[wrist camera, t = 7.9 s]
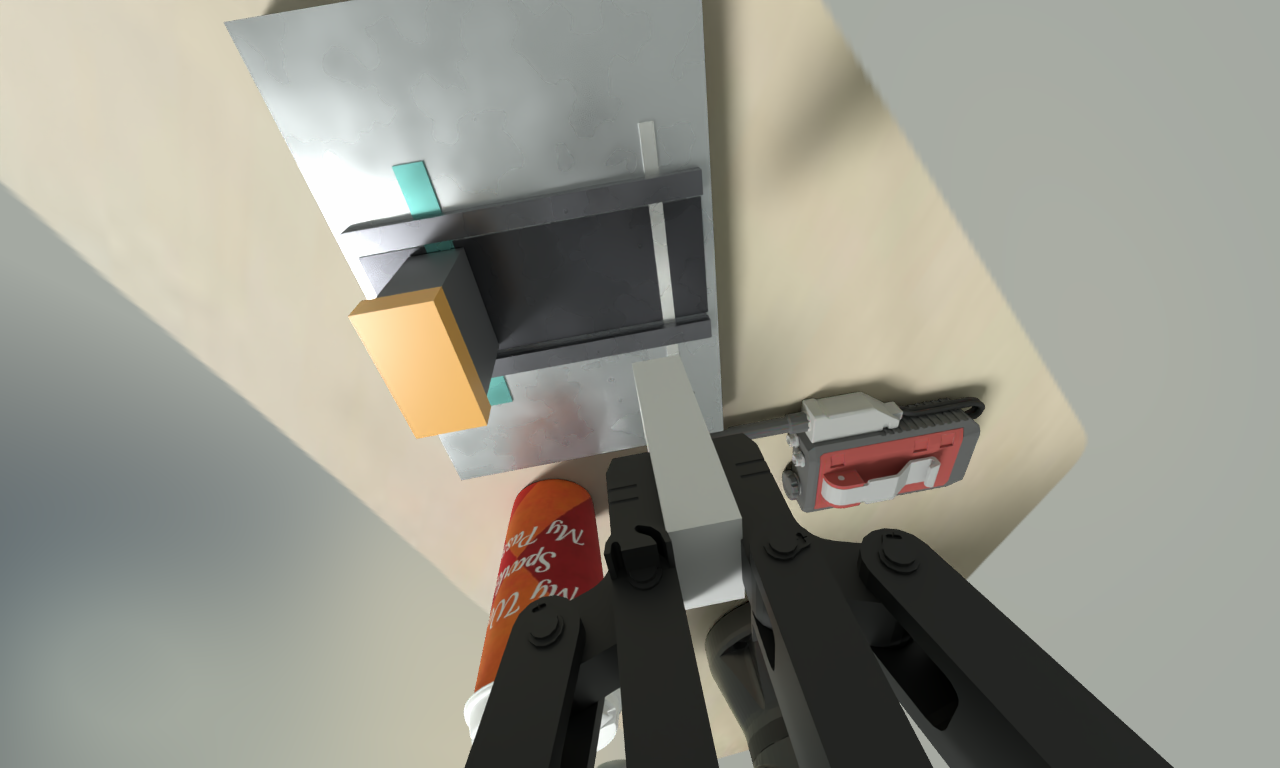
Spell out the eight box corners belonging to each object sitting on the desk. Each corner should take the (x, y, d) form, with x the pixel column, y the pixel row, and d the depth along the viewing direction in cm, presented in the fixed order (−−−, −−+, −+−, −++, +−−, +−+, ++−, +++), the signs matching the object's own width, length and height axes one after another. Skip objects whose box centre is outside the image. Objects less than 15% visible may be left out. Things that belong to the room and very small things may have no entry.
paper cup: (564, 449, 31) (561, 684, 19) (628, 511, 35) (656, 734, 23) (471, 502, 32) (418, 746, 21) (543, 555, 36) (530, 783, 25)
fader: (504, 348, 23) (487, 425, 19) (448, 358, 23) (416, 438, 19) (466, 242, 20) (433, 300, 15) (401, 253, 20) (347, 316, 15)
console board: (715, 410, 30) (726, 437, 28) (467, 457, 30) (459, 487, 28) (686, -48, 18) (702, -63, 15) (256, 25, 17) (212, 21, 15)
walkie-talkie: (978, 363, 31) (680, 417, 31) (1031, 403, 28) (694, 465, 27) (946, 458, 36) (689, 506, 36) (987, 502, 33) (703, 556, 32)
